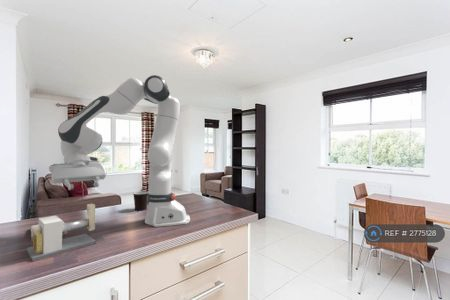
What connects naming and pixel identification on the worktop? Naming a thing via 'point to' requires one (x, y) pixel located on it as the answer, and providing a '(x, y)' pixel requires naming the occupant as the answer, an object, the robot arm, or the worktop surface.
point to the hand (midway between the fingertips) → (84, 187)
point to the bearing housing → (57, 239)
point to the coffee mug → (140, 200)
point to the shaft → (82, 221)
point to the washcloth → (35, 227)
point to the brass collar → (37, 241)
